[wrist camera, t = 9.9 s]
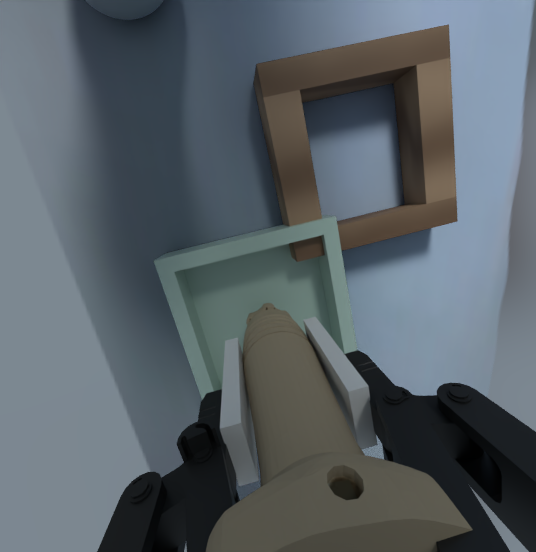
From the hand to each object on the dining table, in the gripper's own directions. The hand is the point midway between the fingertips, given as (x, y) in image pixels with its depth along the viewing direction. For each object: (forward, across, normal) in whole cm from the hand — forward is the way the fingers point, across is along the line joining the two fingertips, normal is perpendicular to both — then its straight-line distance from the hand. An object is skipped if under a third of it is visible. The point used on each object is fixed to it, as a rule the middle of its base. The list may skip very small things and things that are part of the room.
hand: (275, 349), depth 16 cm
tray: (+6, 0, 0) cm, 6 cm away
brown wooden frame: (+6, +9, +10) cm, 15 cm away
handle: (+4, 0, 0) cm, 4 cm away
